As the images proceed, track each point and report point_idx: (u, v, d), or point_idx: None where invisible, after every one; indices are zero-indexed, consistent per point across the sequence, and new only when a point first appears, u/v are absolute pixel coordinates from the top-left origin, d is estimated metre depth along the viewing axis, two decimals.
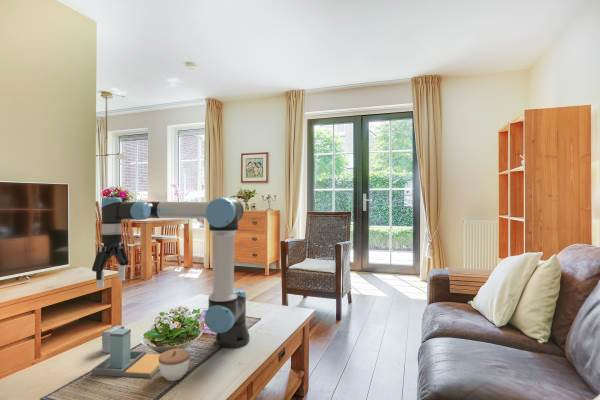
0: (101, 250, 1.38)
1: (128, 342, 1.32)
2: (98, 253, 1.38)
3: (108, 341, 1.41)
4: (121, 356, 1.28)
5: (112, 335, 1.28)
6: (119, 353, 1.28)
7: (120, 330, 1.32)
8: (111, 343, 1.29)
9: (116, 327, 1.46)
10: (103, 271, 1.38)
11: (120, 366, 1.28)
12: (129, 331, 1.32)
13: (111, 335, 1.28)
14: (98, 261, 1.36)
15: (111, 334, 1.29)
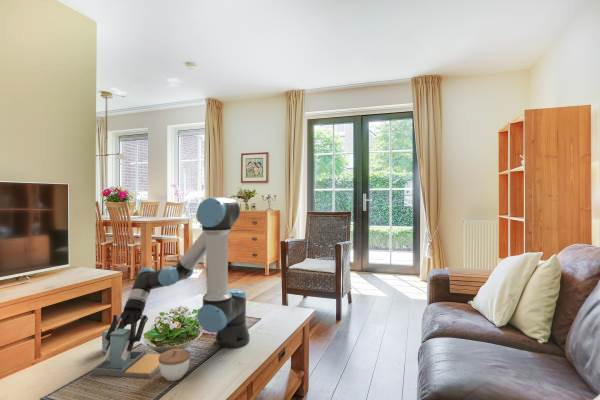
0: None
1: None
2: None
3: (108, 341, 1.41)
4: (121, 356, 1.28)
5: (112, 335, 1.28)
6: (119, 353, 1.28)
7: (120, 330, 1.32)
8: (111, 343, 1.29)
9: (116, 327, 1.46)
10: None
11: (120, 366, 1.28)
12: (129, 331, 1.32)
13: (111, 335, 1.28)
14: None
15: (111, 334, 1.29)
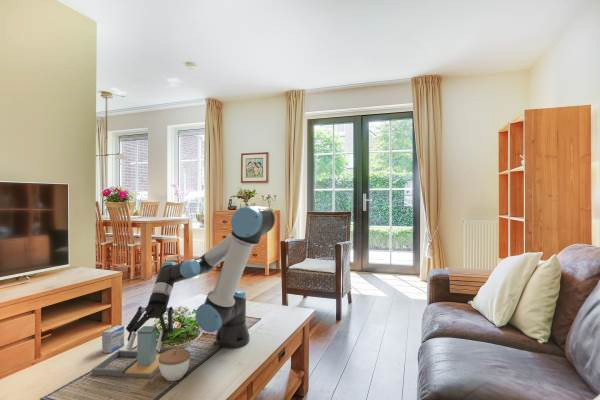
0: None
1: (155, 339, 1.31)
2: None
3: (108, 341, 1.41)
4: (149, 353, 1.27)
5: (140, 332, 1.27)
6: (147, 351, 1.28)
7: (146, 327, 1.31)
8: (139, 341, 1.27)
9: (116, 327, 1.46)
10: (133, 331, 1.31)
11: (148, 363, 1.28)
12: (155, 328, 1.32)
13: (138, 333, 1.27)
14: None
15: (138, 332, 1.27)
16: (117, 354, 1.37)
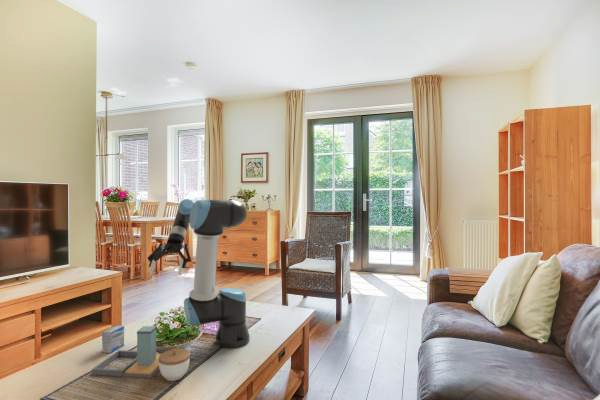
0: None
1: (155, 339, 1.31)
2: None
3: (108, 341, 1.41)
4: (149, 353, 1.28)
5: (140, 332, 1.27)
6: (146, 351, 1.28)
7: (146, 327, 1.31)
8: (138, 341, 1.27)
9: (116, 327, 1.46)
10: (153, 260, 1.60)
11: (148, 363, 1.28)
12: (155, 328, 1.32)
13: (138, 333, 1.27)
14: None
15: (138, 332, 1.27)
16: (117, 354, 1.37)
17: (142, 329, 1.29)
